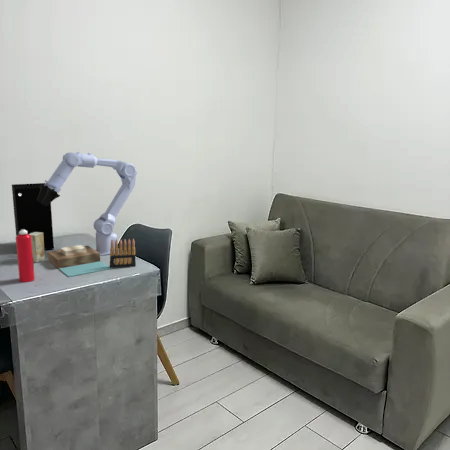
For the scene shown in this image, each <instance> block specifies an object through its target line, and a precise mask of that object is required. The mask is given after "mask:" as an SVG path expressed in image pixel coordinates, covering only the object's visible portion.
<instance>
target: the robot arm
mask: <svg viewBox="0 0 450 450" xmlns="http://www.w3.org/2000/svg"><path fill="white" fill-rule="evenodd" d="M95 166H100V167H108V168H109V167H110V168H112V169H113V170H115V172H116V174H117V176H119V178H120V181H121V185H120V188H119V189H118V190H117V192H116V194H115V195H114V197H113V198H112V200H111V202H110V203H109V205H108V206H107V208H106V210H105V212H103V213H102V214H100V216H99V218H97V219H95V220H94V222H93V228H94V230H95V245H96V246H95V248H96V249H95V250H96V251H98V252H99V253H100V257H101V256H107V255H110V248H111V240H113V243H114V254H115V241H116V239H117V241H118V240H119V239H118V235H117V233H115V232H114V226H115V225H116V217H117V216H118V215H119V213H120V211H121V210H122V208H123V206H124V205H125V202H127V200H128V198H129V197H130V195H131V193H132V192H133V189H134V188H135V187H136V177H137V174H138V171H137V169H136V166H135V165H134V164H133V163H132V162H131V163H127V162H125V161H121V160H119V159H111V158H110V159H109V158H98V157H96V156H95V155H94V154H92V153H90V152H87V153H81V152H79V151H77V152H71V151H68V152H66V153H65V154H63V156H62V161H61V162H60V163H59V164H58V166H57V167H56V168H55V171H54V172H53V173H52V175H51V176H50V177H49V179H48V180H46V179H45V180H44V183H45V186H43V185H41V188H40V193H39V195H38V198H37V201H38V202H40V203H42V204H43V205H45V206H47V205H49V204H50V203H51V204H52V202H53V201H54V200H56V199H57V198H59V197H60V196H61V195H60V194H58V193H60V192H61V191H62V189H61V188H62V187H63V186H64V183H65V182H66V181H67V179H68V177H69V176H70V175H71V173H72V172H73V170H74V169H75V168H76V167H78V168H79V167H80V168H91V169H92V168H94V167H95ZM118 242H119V241H118ZM118 253H119V250H118Z"/></svg>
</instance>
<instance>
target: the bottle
mask: <svg viewBox="0 0 450 450" xmlns="http://www.w3.org/2000/svg"><path fill="white" fill-rule="evenodd" d="M15 243H16V244H15V245H16V247H15V248H16V255H17V256H16V257H17V269H18V279H19V282H21V283H30V282H33V281H35V279H36V278H35V277H36V276H35V267H34V266H35V265H34V264H35V262H33V250H32V238H31V235H29V234H28V233H27V231H26V230H25V229H21V231H19V235H17V236H16V235H15Z"/></svg>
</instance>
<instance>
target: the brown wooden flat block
mask: <svg viewBox="0 0 450 450" xmlns="http://www.w3.org/2000/svg"><path fill="white" fill-rule="evenodd" d="M83 246H84V247H85V248H86V253H80V254H74V255H67V256H66V255H64V254H63V253H61V249H57V250H52V251H48V252H47V259H48V262H50V263H51V264H52V265H53V266H54V267H55V268H57V269H58V270H59V268H65V267H70V266H76V265H82V264H87V263H93V262H99V261H101V256H100V253H99V252H98V251H96V249H94V248H93V247H92V246H89V245H83Z"/></svg>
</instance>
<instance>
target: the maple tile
mask: <svg viewBox="0 0 450 450" xmlns="http://www.w3.org/2000/svg"><path fill="white" fill-rule="evenodd" d="M84 246H85V245H83V244H80V245H79V244H77V245H72V246H65V247H60V250H61V253H63V254H64V255H66V256H67V255H74V254H80V253H86V248H85V247H84Z"/></svg>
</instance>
